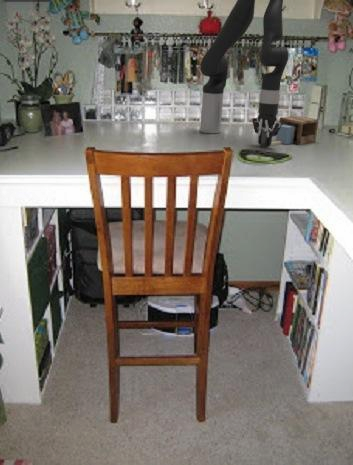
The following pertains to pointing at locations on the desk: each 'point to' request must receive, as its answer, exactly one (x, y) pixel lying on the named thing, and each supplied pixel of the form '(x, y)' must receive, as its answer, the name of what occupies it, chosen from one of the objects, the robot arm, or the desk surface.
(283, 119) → the shelf
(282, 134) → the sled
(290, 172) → the desk surface
